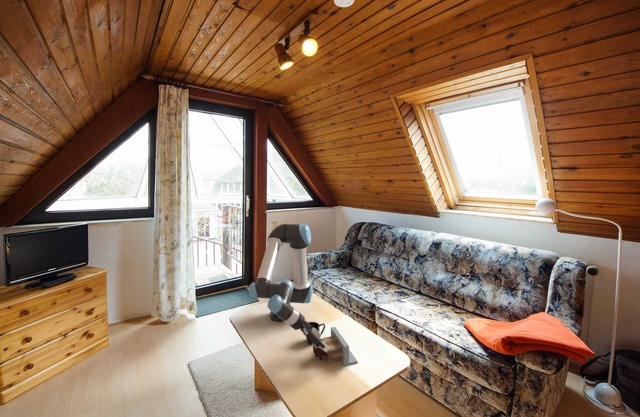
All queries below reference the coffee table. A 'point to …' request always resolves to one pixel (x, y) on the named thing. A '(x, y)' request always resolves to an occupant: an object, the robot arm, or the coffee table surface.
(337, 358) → the tan block with ledge
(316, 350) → the mate gourd
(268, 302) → the robot arm
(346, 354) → the backstop board
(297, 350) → the coffee table surface
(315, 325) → the mug
